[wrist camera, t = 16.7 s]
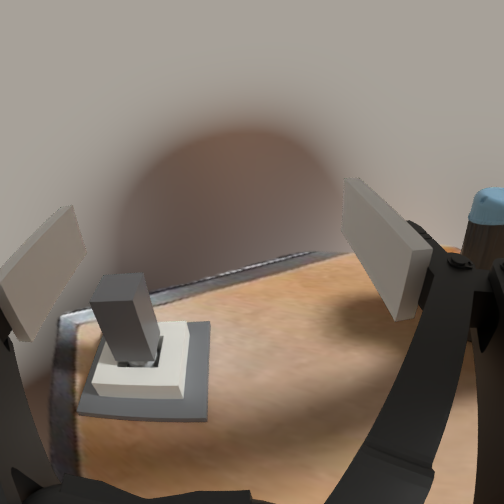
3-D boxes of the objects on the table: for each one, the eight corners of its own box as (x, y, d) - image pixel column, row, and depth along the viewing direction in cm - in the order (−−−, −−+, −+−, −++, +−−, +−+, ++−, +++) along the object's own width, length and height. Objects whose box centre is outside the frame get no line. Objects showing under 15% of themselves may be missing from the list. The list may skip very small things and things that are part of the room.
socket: (210, 325, 51) (207, 306, 49) (207, 421, 35) (201, 405, 33) (108, 329, 50) (101, 311, 48) (79, 415, 34) (66, 398, 32)
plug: (166, 351, 44) (143, 272, 37) (162, 380, 40) (132, 300, 33) (132, 351, 44) (103, 275, 37) (125, 379, 40) (89, 302, 33)
